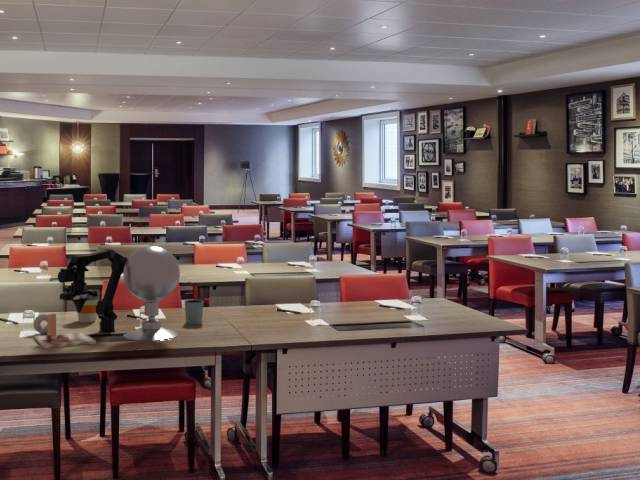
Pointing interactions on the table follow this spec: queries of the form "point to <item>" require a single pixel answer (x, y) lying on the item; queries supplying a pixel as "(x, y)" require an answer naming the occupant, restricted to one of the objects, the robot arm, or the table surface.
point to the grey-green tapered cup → (194, 311)
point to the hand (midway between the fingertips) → (79, 312)
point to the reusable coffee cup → (88, 310)
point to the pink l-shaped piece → (53, 328)
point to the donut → (38, 323)
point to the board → (73, 340)
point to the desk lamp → (151, 288)
